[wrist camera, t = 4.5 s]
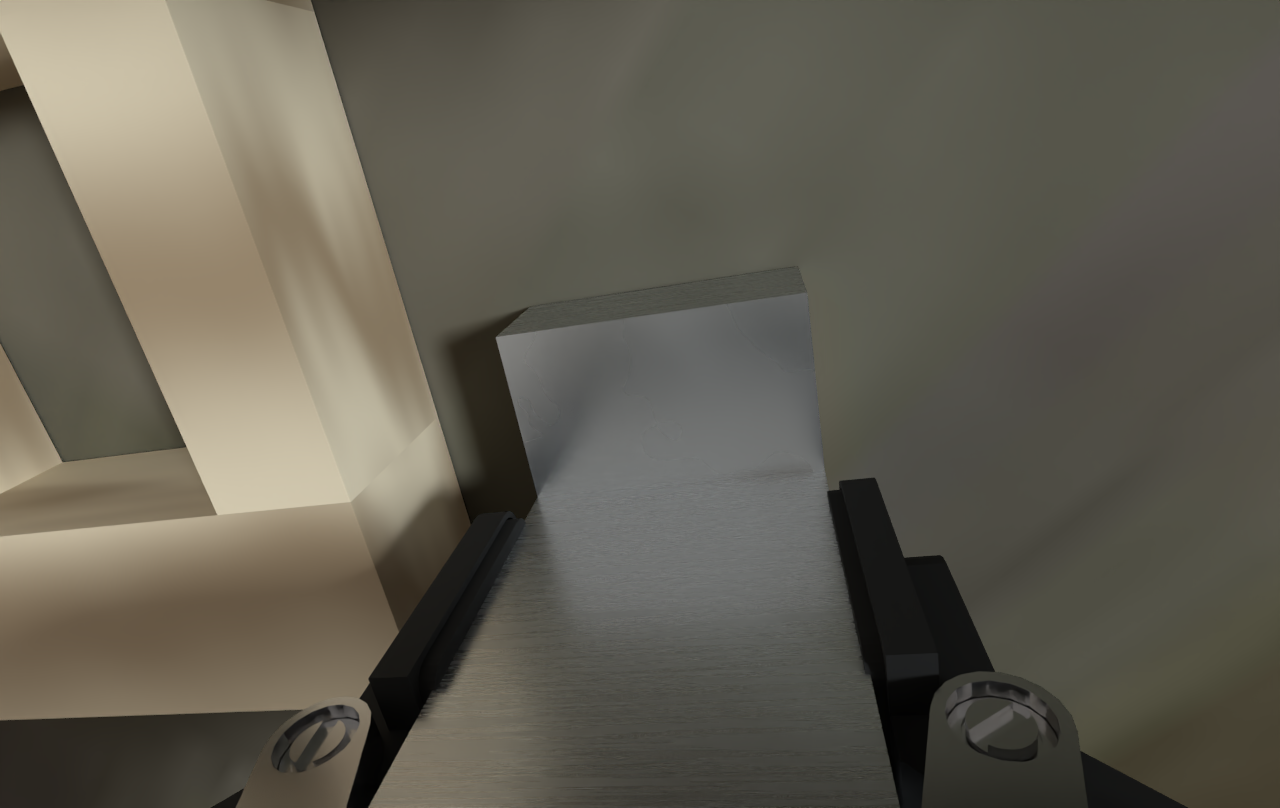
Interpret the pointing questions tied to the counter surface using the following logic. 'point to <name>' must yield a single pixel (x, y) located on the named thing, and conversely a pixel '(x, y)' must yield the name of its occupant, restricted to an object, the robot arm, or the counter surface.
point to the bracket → (661, 576)
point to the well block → (218, 380)
